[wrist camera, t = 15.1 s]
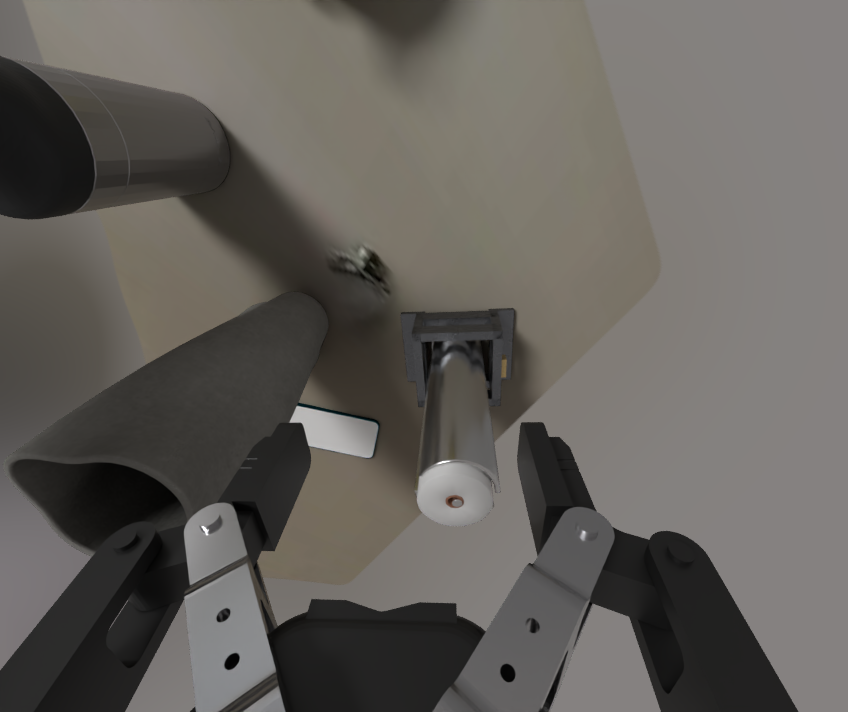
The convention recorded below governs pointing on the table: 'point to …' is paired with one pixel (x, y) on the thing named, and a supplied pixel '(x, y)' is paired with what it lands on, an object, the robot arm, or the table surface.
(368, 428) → the smartphone
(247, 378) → the vase
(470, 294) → the table surface
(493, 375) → the collar bracket
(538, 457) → the robot arm
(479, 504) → the silver metal cylinder
